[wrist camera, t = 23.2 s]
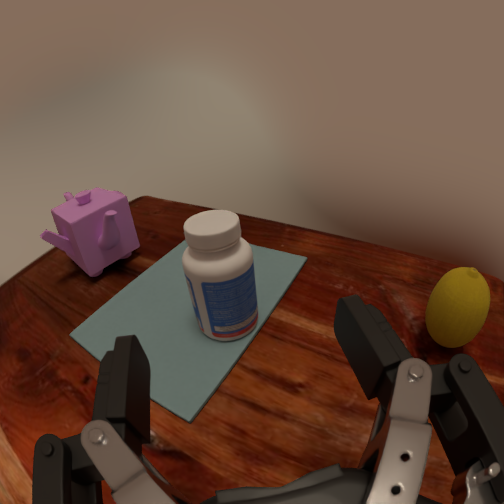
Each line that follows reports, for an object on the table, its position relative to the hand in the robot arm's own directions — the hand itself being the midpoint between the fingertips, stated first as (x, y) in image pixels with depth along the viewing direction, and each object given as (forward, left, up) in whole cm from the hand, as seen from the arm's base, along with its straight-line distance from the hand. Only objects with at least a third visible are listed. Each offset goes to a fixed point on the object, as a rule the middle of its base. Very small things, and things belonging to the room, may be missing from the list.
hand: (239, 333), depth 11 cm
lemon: (-12, -13, -11) cm, 21 cm away
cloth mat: (+12, -10, -11) cm, 19 cm away
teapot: (+29, -10, -11) cm, 33 cm away
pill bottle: (+7, -8, -11) cm, 15 cm away
